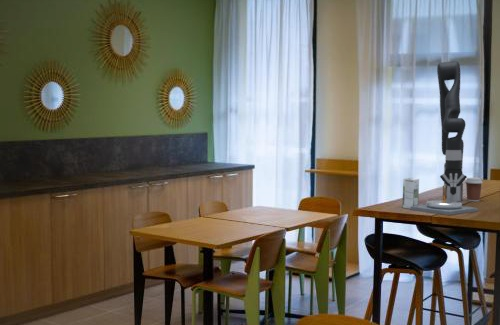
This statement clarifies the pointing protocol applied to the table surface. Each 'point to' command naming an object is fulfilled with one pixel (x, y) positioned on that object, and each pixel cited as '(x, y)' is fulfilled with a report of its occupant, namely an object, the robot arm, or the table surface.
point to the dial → (444, 202)
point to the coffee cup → (473, 188)
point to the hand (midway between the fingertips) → (453, 194)
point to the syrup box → (410, 192)
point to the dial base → (444, 210)
